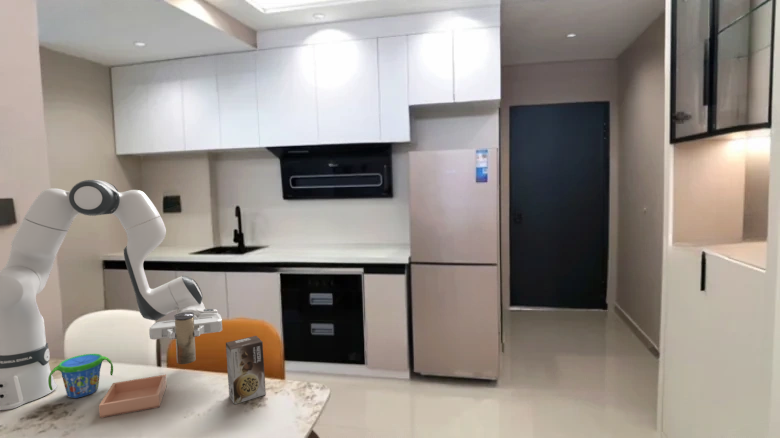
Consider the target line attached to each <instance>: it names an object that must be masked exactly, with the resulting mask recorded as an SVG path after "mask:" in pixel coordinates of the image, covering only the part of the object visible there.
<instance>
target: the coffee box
mask: <svg viewBox="0 0 780 438" xmlns="http://www.w3.org/2000/svg"><path fill="white" fill-rule="evenodd" d="M263 343H264V342H263V341H262V340H261V338H259V337H258V336H257V335H252V336H249V337H245V338H241V339H236V340H235V339H234V340H232V341H228V342H225V351H226V352H225V353H226V367H227V381H228V382H227V383H228V396H229V398H230V400H231V402H232V403H233V405H237V404H240V403H244V402H247V401H250V400H253V399H256V398H259V397H263V396H265V395H266V394H267V391H266V390H267V389H266V378H265V377H266V376H265V364H264V362H265V360H264V359H265V358H264V344H263Z"/></svg>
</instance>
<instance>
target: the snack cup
mask: <svg viewBox="0 0 780 438" xmlns="http://www.w3.org/2000/svg"><path fill="white" fill-rule="evenodd" d="M104 361H107V362H108V363H109V364H110V372H109V373H110V376H113V373H114V366H113V362H112V360H111V359H110V358H109V357H108V356H104V355H102V354H100V353H87V354H86V353H85V354H80V355H76V356H72V357H70V358H67V359H64V360H63V361H61V362H60V363H58V365H57V366H56V367H54V368H53V369H52V370H51V373H50V375H49V378H48V383H49V388H50V390H53V389H52V385H51V375H52V376H53V374H55V372H57V371H59V372H61V377H62V381H63V384H64V388H65V392H66V395H67V397H69V398H71V399H72V398H74V399H78V398H82V397H86V396H87V395H92V394H94V393H95V392H96V391H97V390H98V389H99V385H100V376H101V375H100V374H101V368H102V364H103V362H104ZM53 391H54V390H53Z"/></svg>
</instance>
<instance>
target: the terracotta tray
mask: <svg viewBox="0 0 780 438" xmlns="http://www.w3.org/2000/svg"><path fill="white" fill-rule="evenodd" d="M167 386H168V384H167V374H161V375H156V376H155V375H154V376H149V377H142V378H136V379H129V380H123V381H117V382H113V383H112V384H111V386H110V387H109V388H108V390H107V392H106V394H105V395H104V397H103V399H102V400H101V402H100V403H99V405H98V411H99V419H103V418H109V417H113V416H114V417H115V416H119V415H124V414H129V413H134V412H140V411H141V412H142V411H146V410H152V409H157V408H160V407H161V405H162V401H163V398H164V395H165V392H166V389H167Z"/></svg>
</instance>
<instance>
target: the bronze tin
mask: <svg viewBox="0 0 780 438" xmlns="http://www.w3.org/2000/svg"><path fill="white" fill-rule="evenodd" d="M173 318H174V319H173V320H175V332H176V339H175V348H176V350H175V352H176V363H177V364H178V365H189V364H191V363H193V362H195V361H196V360H197V359H196V340H195V339H196V337H194V313H193V312H183V313H179V314H177V313H176V314H175V315H174V317H173Z"/></svg>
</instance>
